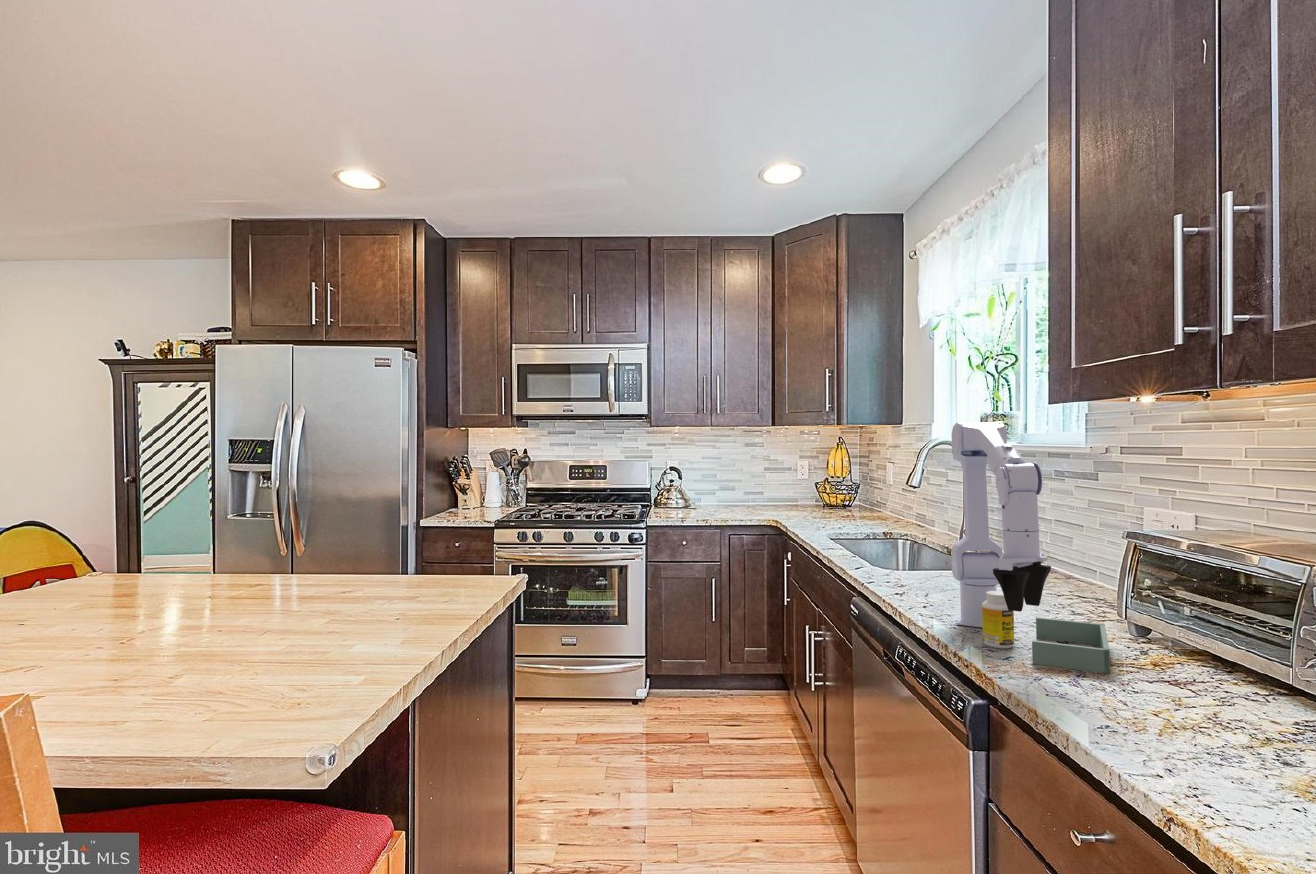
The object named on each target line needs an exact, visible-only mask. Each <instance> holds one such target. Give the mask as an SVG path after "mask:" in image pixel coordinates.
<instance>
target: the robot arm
mask: <svg viewBox="0 0 1316 874" xmlns="http://www.w3.org/2000/svg"><path fill="white" fill-rule="evenodd" d="M1007 441H1008V431H1007V427H1006V425H1005V423H1003V421H1001V420H1000V421H999V420H998V421H983V422H982V421H981V422H980V421H978V422H958V421H957V422H955V424H953V426H952V430H951V453H952V458H953V460H955V461H957V462H960V465H961V469H962V470H961V471H962V484H963V485H962V486H963V489H962V490H963V491H962V492H963V507H964V508H963V511H964V533H965V536H964V537H962V538H961V539H960V540H958V541H957V542H956V543H954V544H953V546H952V548H951V549H952V552H951V553H952V554H951V561H950V562H951V563H950V565H951V572H952V576H953V578H954V579H955V580H956V581H958V582H959V587H960V588H959V589H960V590H959V591H960V594H959V595H960V597H959V598H960V599H959V600H960V617H959V618H958V620H957V622H956V625H958V626H965V627H974V628H975V627H976V628H982V603H983V602H984V601H987V600H986V592H988V591H998V590H997V585H999V586H1000V588H1001V591H1002V592H1003V595H1004V598H1005V601H1006V605H1007V608H1008V610H1011V611H1014V612H1022V611H1023V608H1024V603H1025V605H1027V606H1034V607H1035V606H1036V607H1039V606H1040V605H1041V601H1042V594H1043V591H1044V586H1045V583H1046V581H1047V578H1048V575H1049V574H1050V573H1051V570H1052V566H1051V565H1047V564H1044V563H1045V562H1048V556H1045V555H1044V554H1045V553H1044V552H1041V550H1040V549H1041V547H1040V531H1039V530H1040V528H1039V527H1040V526H1039V525H1040V524H1039V506H1038V505H1039V504H1038V496H1039V495H1040V494H1041V492H1042V489H1043V473H1042V469H1041V467H1040V466H1039V464H1038V463H1037V462H1035V461H1034V462H1027V461H1026V460H1025V459H1024V457H1023V456H1022V455H1021V454H1020V452H1019V451H1018V449H1016V448H1015V447H1014V446H1013V445H1012V444H1009V443H1007ZM987 465H988V467H989V468H990V470H991V471H992V473H993V474H994V476H995V486H996V487H995V488H996V490H997V496H998V504H999V505H1001V516H1002V517H1001V520H1002V522H1001V523H1002V543H1003V545H1002V546H1003V548H1002V546H1001V545H1000V544H998V543H997V542H995V541H994V540H993V539H991V538H990V528H989V526H990V525H989V508H988V506H989V505H988V486H987V485H988V483H987V482H988V481H987ZM978 551H979V552H978ZM987 551H988V552H987Z"/></svg>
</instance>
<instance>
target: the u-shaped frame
mask: <svg viewBox="0 0 1316 874" xmlns="http://www.w3.org/2000/svg"><path fill="white" fill-rule="evenodd" d="M1035 626H1036V627H1035V636H1036V637H1035V638H1036V639H1042V640H1048V641H1040V640H1034V639H1033V640H1031V656H1032V665H1038V666H1039V665H1040V666H1046V667H1055V668H1062V669H1068V670H1077V671H1084V672H1091V673H1100V674H1107V675H1111V655H1110V654H1111V653H1110V651H1111V650H1110V647H1109V645H1110V644H1109V640H1108V634H1107V629H1106V625H1105V624H1104V623H1097V622H1087V621H1086V622H1085V621H1077V620H1076V621H1075V620H1066V619H1058V618H1046V617H1037V616H1036V617H1035ZM1049 640H1051V641H1059V642H1060V641H1061V642H1070V643H1078V644H1085V645H1093V646H1099V647H1100V648H1099V647H1092V646H1083V645H1075V644H1068V643H1067V644H1065V643H1058V642H1049Z"/></svg>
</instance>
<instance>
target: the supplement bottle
mask: <svg viewBox="0 0 1316 874" xmlns="http://www.w3.org/2000/svg"><path fill="white" fill-rule="evenodd" d="M986 600H987V601H984V602H983V603H982V627H981V629H982V642H983V644H984V645H986V646H987V647H990V648H994V649H1011V648H1013V647H1014V646H1015V620H1014V618H1015V614H1014V613H1015V611H1011V610H1008V608H1007V605H1006V601H1005V598H1004V595H1003V591H1002V590H997V591H988V592H986Z"/></svg>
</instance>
